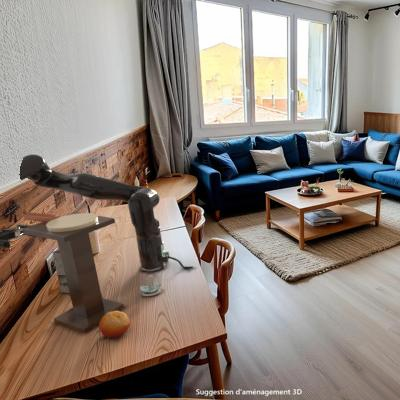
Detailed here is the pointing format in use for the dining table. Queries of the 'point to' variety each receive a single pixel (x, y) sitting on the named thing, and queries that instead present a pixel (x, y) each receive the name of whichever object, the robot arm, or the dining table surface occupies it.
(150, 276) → the clear glass cup
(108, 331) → the fruit
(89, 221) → the table tennis paddle
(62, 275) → the coffee box
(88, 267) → the shelf stand
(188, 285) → the dining table surface
